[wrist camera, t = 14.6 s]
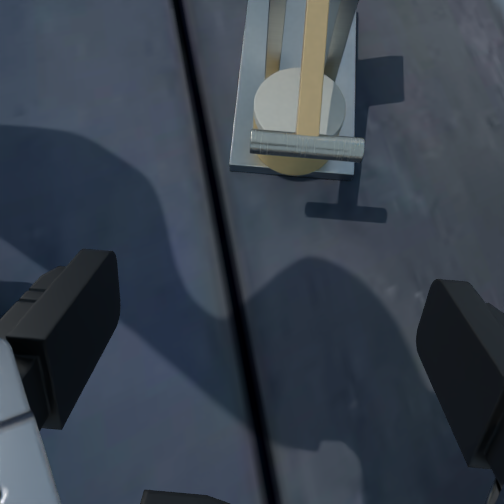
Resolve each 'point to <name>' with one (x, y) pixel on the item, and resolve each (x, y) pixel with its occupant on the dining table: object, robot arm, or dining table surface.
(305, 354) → the dining table surface
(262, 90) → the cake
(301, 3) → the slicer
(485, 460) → the robot arm
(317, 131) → the wood and metal t-shape
